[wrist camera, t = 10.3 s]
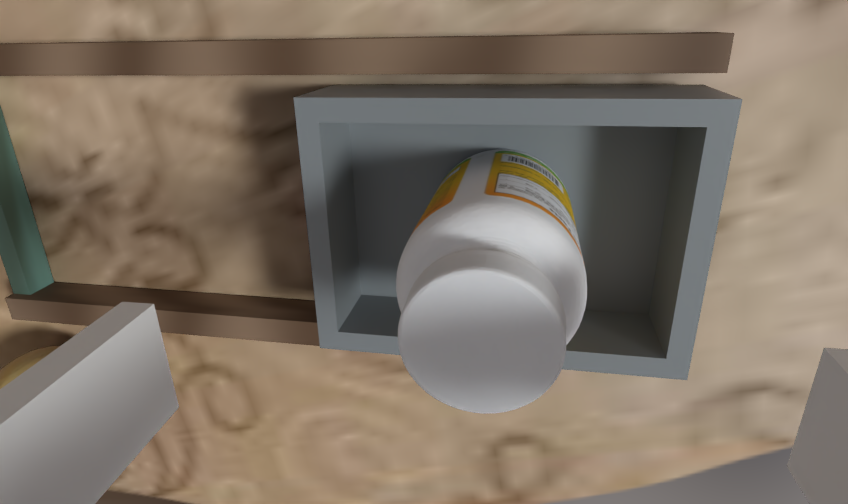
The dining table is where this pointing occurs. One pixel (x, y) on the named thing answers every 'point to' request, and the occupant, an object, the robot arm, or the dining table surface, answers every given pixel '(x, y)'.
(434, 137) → the box
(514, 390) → the supplement bottle
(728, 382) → the dining table surface
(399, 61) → the bay
